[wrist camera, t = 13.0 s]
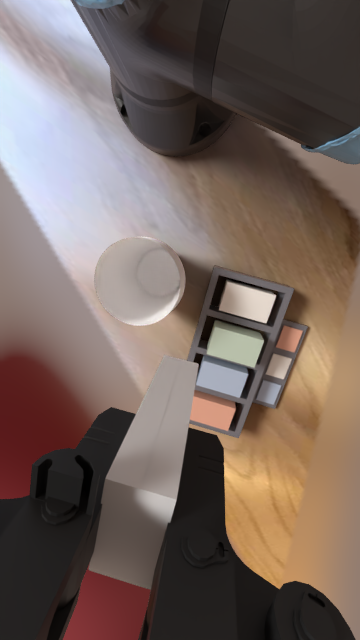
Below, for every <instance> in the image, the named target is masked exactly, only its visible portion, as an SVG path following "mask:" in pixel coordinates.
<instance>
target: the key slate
mask: <svg viewBox="0 0 360 640" xmlns="http://www.w3.org/2000/svg"><path fill="white" fill-rule="evenodd" d="M247 376H248V371H247V367H244V366H241V365H238V364H234V363H231V362H227V361H224V360H220V359H217V358H213V357H210V356H207V355H203V358H202V361H201V364H200V368H199V371H198V374H197V382H196V385H198V386H201V387H205V388H208V389H211V390H215V391H218V392H221V393H225V394H228V395H232V396H235V397H238V398H240V396H241V393H242V390H243V387H244V385H245V382H246V379H247Z"/></svg>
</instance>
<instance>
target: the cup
mask: <svg viewBox="0 0 360 640" xmlns="http://www.w3.org/2000/svg"><path fill="white" fill-rule="evenodd" d="M94 281H95V289H96V293H97V296H98V298H99V300H100V302H101V304H102V305H103V307H104V308H105V309H106V311H107V312H108V313H109V314H110V315H112V316H113V317H114V318H116V319H117V320H119V321H121V322H123V323H126V324H130V325H135V326H144V325H150V324H153V323H156V322H158V321H160V320H161V319H163V318H164V317H165V316H167V315H168V314H169V313H170V312H171V311H173V310H174V309H175V307H176V306H177V305H178V303H179V302H180V300H181V298H182V296H183V293H184V289H185V271H184V267H183V264H182V262H181V260H180V258H179V257H178V255H177V254H176V252H175V251H174V250H173V249H172V248H171V247H170V246H168V245H167V244H165V243H164V242H162V241H160V240H158V239H155V238H151V237H132V238H126V239H122V240H120V241H117V242H116V243H114V244H112V245H111V246H110V247H108V248H107V249H106V250H105V252H104V253H103V254H102V256H101V257H100V259H99V261H98V263H97V266H96V270H95V278H94Z"/></svg>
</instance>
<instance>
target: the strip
mask: <svg viewBox="0 0 360 640" xmlns="http://www.w3.org/2000/svg"><path fill="white" fill-rule="evenodd" d="M307 328H308V326H306V325H303V324H299V323H296V322H292V321H288V320H285V319H283V320H282V323H281V326H280V328H279V331H278V334H277V337H276V339H275V342H274V345H273V347H272V350H271V353H270V355H269V358H268V361H267V363H266V366H265V369H264V371H263V374H262V377H261V379H260V382H259V385H258V388H257V390H256V393H255V396H254V398H253V401H252V402H253V403H257V404H260V405H263V406H267V407H270V408H274V409H275V408H276V405H277V403H278V400H279V398H280V395H281V393H282V390H283V388H284V385H285V383H286V380H287V378H288V375H289V373H290V370H291V368H292V365H293V363H294V360H295V358H296V355H297V353H298V350H299V348H300V345H301V343H302V340H303V338H304V335H305V333H306V330H307Z"/></svg>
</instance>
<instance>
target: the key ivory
mask: <svg viewBox="0 0 360 640" xmlns="http://www.w3.org/2000/svg"><path fill="white" fill-rule="evenodd" d="M275 298H276V295H275V294H274V293H272V292H271V291H268V290H264V289H261V288H257V287H253V286H250V285H246V284H242V283H239V282H235V281H231V280H228V279H226V282H225V285H224V289H223V292H222V295H221V299H220V302H219V310H220V311H224V312H227V313H231V314H234V315H238V316H241V317H245V318H248V319H252V320H255V321H259V322H263V323H267V320H268V317H269V315H270V312H271V309H272V306H273V303H274V301H275Z"/></svg>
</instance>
